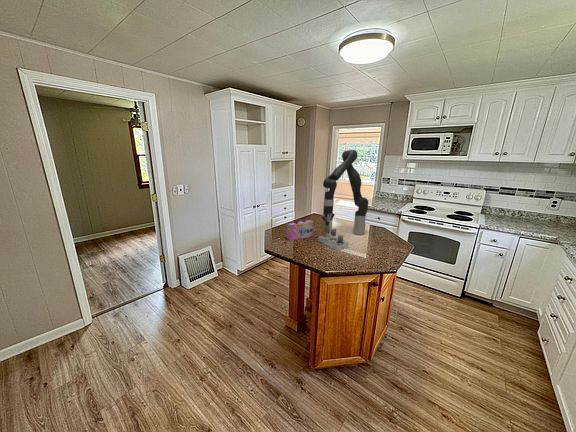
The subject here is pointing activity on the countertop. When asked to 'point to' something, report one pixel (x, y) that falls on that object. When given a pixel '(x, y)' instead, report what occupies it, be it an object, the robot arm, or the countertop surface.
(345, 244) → the mount plate
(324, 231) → the knob
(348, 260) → the countertop surface
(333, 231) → the knob mid
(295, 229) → the gum box
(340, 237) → the knob
